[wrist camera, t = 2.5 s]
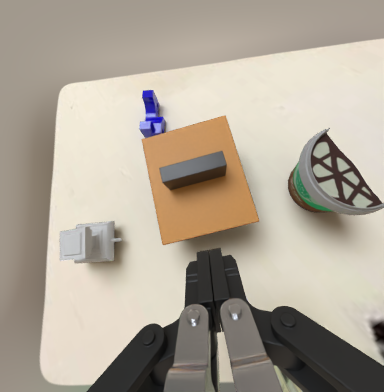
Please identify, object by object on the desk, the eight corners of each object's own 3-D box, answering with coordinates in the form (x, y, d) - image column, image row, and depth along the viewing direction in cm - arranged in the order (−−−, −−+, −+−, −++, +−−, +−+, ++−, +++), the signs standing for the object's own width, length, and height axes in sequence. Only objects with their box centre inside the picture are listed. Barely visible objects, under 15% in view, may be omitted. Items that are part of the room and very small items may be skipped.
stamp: (127, 221, 37) (101, 216, 28) (127, 258, 35) (100, 264, 27) (81, 226, 38) (44, 222, 29) (80, 262, 36) (40, 269, 28)
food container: (266, 172, 36) (285, 146, 26) (297, 155, 35) (327, 124, 26) (307, 234, 33) (346, 232, 23) (341, 216, 32) (393, 206, 23)
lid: (143, 141, 31) (130, 124, 26) (225, 118, 30) (226, 95, 25) (164, 244, 27) (153, 246, 22) (258, 221, 26) (267, 217, 22)
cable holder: (163, 139, 39) (158, 128, 35) (146, 139, 40) (139, 129, 36) (166, 103, 41) (160, 89, 37) (149, 104, 41) (142, 90, 38)
